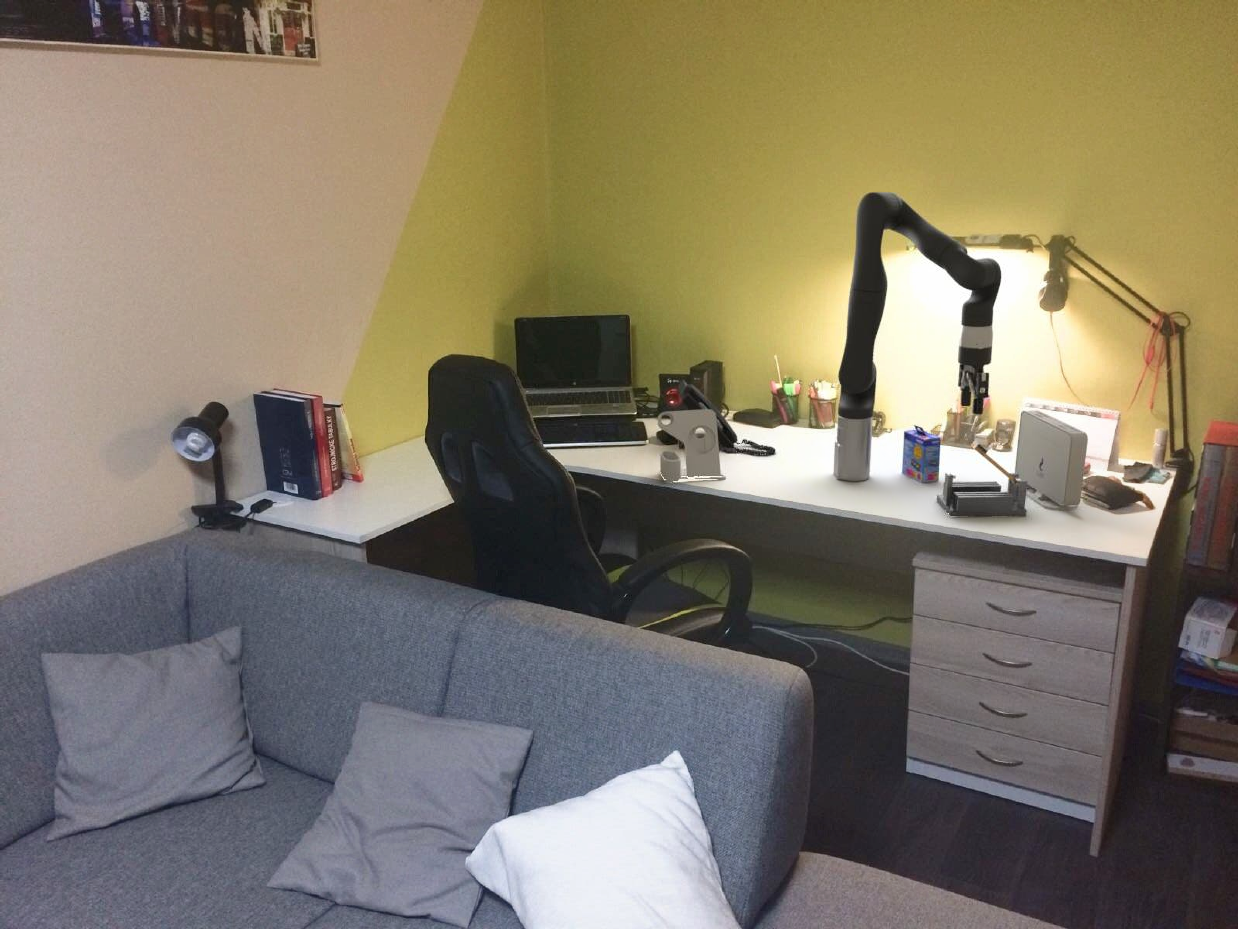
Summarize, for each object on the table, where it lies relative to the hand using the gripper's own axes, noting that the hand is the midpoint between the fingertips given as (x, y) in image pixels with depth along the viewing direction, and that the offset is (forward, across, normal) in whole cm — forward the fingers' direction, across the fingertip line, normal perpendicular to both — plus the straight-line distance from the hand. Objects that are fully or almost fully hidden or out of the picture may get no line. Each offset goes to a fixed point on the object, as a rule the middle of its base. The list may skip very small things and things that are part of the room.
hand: (971, 409), depth 237 cm
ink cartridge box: (+24, -22, -5) cm, 33 cm away
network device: (+25, -4, +21) cm, 33 cm away
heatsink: (+24, +4, +2) cm, 25 cm away
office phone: (+23, -59, -55) cm, 84 cm away
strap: (+14, +4, +5) cm, 15 cm away
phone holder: (+23, -27, -67) cm, 76 cm away
